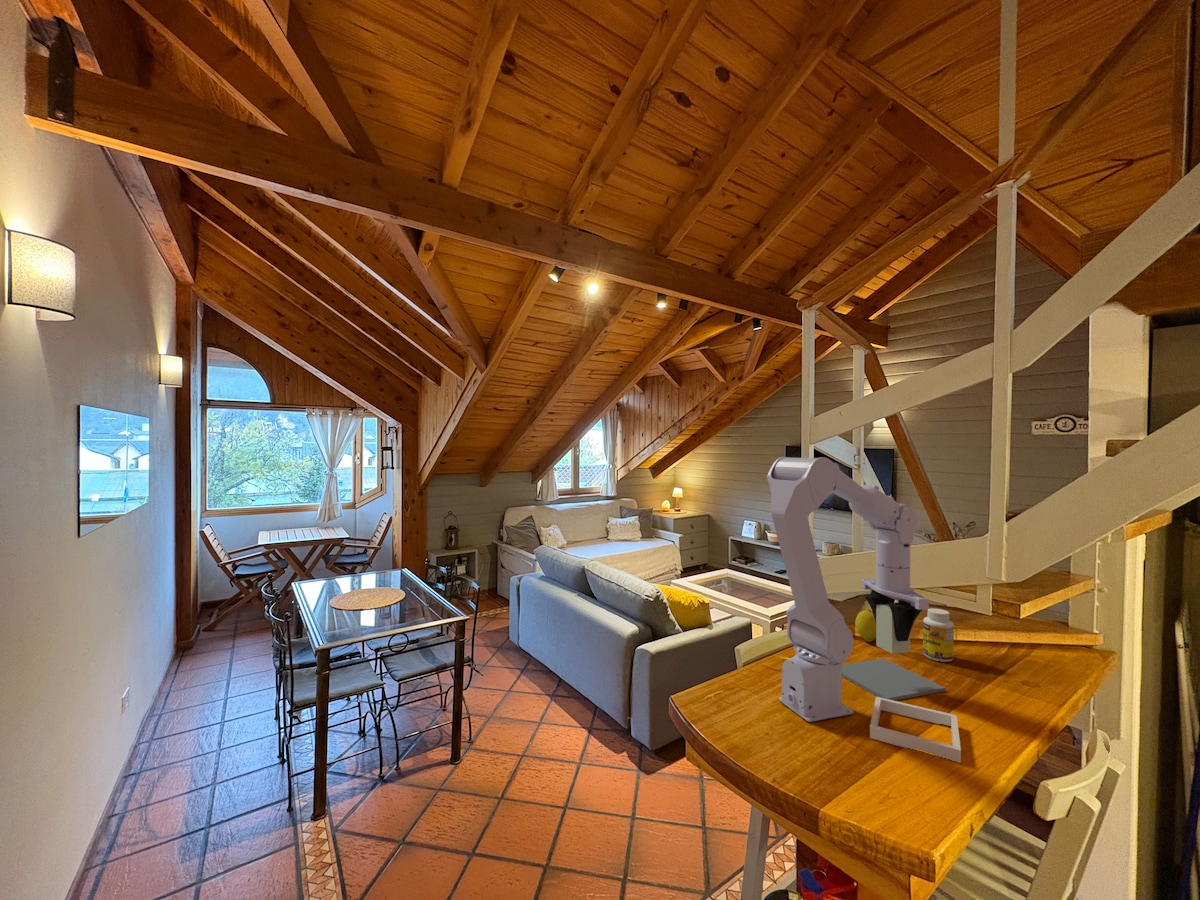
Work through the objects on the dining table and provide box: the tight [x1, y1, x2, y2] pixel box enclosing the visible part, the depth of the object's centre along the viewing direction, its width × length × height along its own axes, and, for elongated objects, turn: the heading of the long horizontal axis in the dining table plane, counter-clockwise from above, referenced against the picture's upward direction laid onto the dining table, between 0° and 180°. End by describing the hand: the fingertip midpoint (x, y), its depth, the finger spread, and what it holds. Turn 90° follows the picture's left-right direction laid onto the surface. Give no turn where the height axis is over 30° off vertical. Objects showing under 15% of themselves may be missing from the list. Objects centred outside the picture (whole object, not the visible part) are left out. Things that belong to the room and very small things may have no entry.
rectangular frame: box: [869, 696, 962, 764], centre depth 81 cm, size 12×12×2 cm
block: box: [875, 604, 911, 654], centre depth 97 cm, size 4×4×8 cm
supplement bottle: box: [922, 607, 955, 663], centre depth 110 cm, size 6×6×10 cm
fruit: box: [854, 607, 876, 643], centre depth 119 cm, size 6×6×8 cm
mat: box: [842, 658, 946, 701], centre depth 99 cm, size 14×14×1 cm
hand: (892, 636), depth 97 cm, fingers closed on block, 4 cm apart
